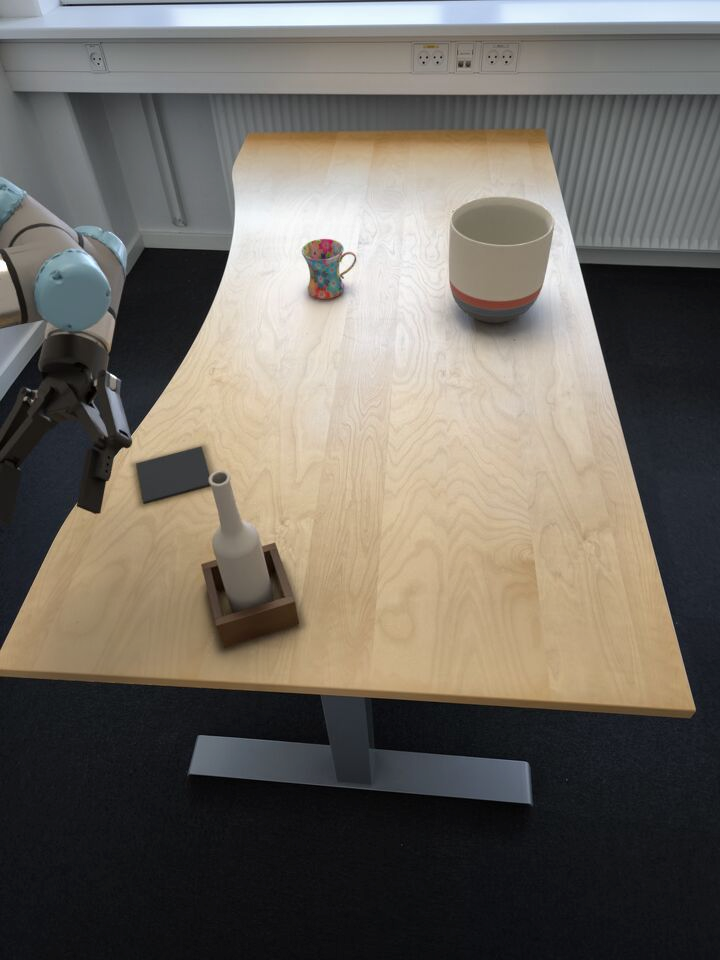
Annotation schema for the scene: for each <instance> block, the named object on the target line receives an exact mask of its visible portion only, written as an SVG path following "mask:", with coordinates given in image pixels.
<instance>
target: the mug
mask: <svg viewBox="0 0 720 960" xmlns="http://www.w3.org/2000/svg"><path fill="white" fill-rule="evenodd" d="M344 250H345V249H344V246H343V244H342V243H341V242H339V241H338V240H335V239H332V238H319V239H314V240H311V241H308V242H307V243H305V244H304V245H303V246H302V248H301V255H302V256H303V258H304V260H305V262H306V264H307V267H308V270H309V282H308V285H307V292H308V294H309V295H311V296H312V297H314V298H317V299H323V300H326V299H327V300H328V299H333V298H336V297H338V296H339V295H341V294H342V293H343V292H344V290H345V283H344V282H343V281H342V280H344V279H345V276H344V275H345V274H347V273H349V272H350V271H351V270H352V269H353V268H354V266H355V265H356V262H357V255H356V253H355V252H352V251H346V252H344ZM348 255H351V256H353V257H354V260H353V262H352V264H351V265H350V266H349V267H348V268H347V269H346V270H344V271H342V272H341V273H340V263H342V260H343V258H345V256H348Z"/></svg>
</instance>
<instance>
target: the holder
mask: <svg viewBox="0 0 720 960" xmlns="http://www.w3.org/2000/svg"><path fill="white" fill-rule="evenodd" d="M261 546H262V550H263V554H264V558H265V562H266V566H267V570H268V574H269V576H272V575H274V576H275V579H276V582H277V586H278V590H279V592H280V596H281V598H278V599H274V600H275V601H272V602H269V603H265V604H262V605H259V606H256V607H252V608H249V609H246V610H243V611H239V612H236V613H230V614H226V615H225V613H224V609H223V606H222V601H221V597H220V593H219V591H222V590H225V588H224V584H223V581H222V577H221V574H220V571H219V567H218V564H217V560H216V559H214V560H209V561H207V562H203V563H201V564H200V565H201V570H202V574H203V578H204V582H205V586H206V591H207V595H208V599H209V603H210V607H211V611H212V615H213V620H214V624H215V628H216V631H217V633H218V636H219V639H220V642H221V644H222V647H223V649H225V648H229V647H232V646H235V645H238V644H241V643H245V642H247V641H250V640H251V641H252V640H254V639H258V638H260V637H263V636H267V635H270V634H273V633H276V632H279V631H283V630H286V629H289V628H292V627H296V626H298V625H300V620H299V614H298V608H297V604H296V601H295V600H296V599H295V597H294V594H293V591H292V587H291V585H290V582H289V580H288V576H287V573H286V570H285V566H284V565H283V562H282V558H281V555H280V553H279V550H278V546H277V543H276V542H271V543H269V544H264V545H261Z"/></svg>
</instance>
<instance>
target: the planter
mask: <svg viewBox="0 0 720 960" xmlns="http://www.w3.org/2000/svg"><path fill="white" fill-rule="evenodd" d="M555 222H556V221H555V218H554V216H553V214H552V213H551V212H550V210H549V209H548V208H546V207H544V206H543V205H541V204H540V203H537V202H535V201H532V200H530V199H526V198H521V197H515V196H503V195H499V196H498V195H497V196H485V197H479V198H475V199H471V200H469V201H467V202H464V203H463V204H461V205H459V206H458V207H456V208H455V209H454V210H453V212H452V213H451V215H450V218H449V237H448V238H449V239H448V281H449V286H450V291H451V295H452V297H453V300H454V302H455V303H456V304H457V306H458V307H459V308H460V309H461V310H462V311H463V312H464V313H465V314H466V315H468V316H470V317H471V318H473V319H476V320H478V321H480V322H485V323H492V324H494V323H504V322H508V321H513V320H514V319H516V318H518V317H520V316H522V315H524V314H525V313H526V312H527V311H529V310H530V309H531V308H532V307H533V306H534V304H535V303H536V301H537V299H538V298H539V296H540V293H541V291H542V289H543V285H544V282H545V278H546V275H547V274H546V273H547V268H548V264H549V259H550V254H551V250H552V249H551V248H552V242H553V235H554V230H555Z"/></svg>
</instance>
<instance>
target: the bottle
mask: <svg viewBox="0 0 720 960" xmlns="http://www.w3.org/2000/svg"><path fill="white" fill-rule="evenodd" d="M231 480H232V476H231V473H230V472H229V471H226V470H222V469H221V470H219V469H218V470H216V471H213V472H212V473H211V474H210V477H209V484H210V485H211V486H210V488H211V491H212V494H213V498H214V502H215V506H216V510H217V514H218V515H217V516H218V521H219V524H220V526H219V527H218V528H217V529H216V530H215V532H214V534H213V537H212V538H211V539H212V540H211V545H212V549H213V553H214V556H215V560H217V564H218V567H219V571H220V574H221V577H222V581H223V584H224V588H225V589H224V590H225V594H226V599H227V601H228V605H229V607H230V612H231V614H233V613H236V612H239V611H243V610H246V609H249V608H252V607H256V606H259V605H262V604H265V603H269V602H272V601H275V600H276V599H275V596H274V592H273V586H272V582H271V579H270V575H269V574H268V570H267V566H266V562H265V558H264V554H263V550H262V546H263V545H262V541H261V538H260V533H259V532H258V530H257V527H256V526H254V525H253V524H252V523H250V522H248V521H245V520H244V519H243V520H242V517H241V515H240V512H239V509H238V506H237V502H236V499H235V495H234V491H233V487H232V483H231Z"/></svg>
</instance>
